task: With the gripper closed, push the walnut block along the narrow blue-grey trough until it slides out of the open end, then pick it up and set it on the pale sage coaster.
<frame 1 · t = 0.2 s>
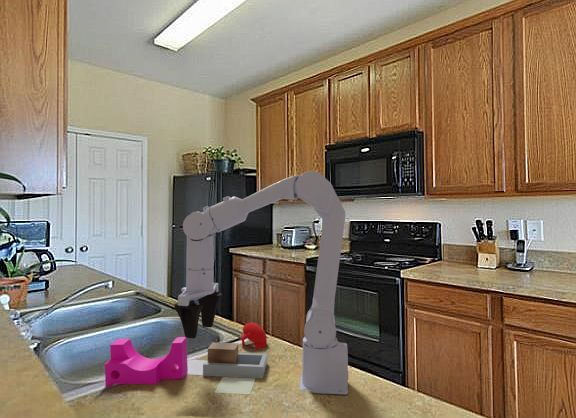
hand: (199, 331, 82), 10 cm above the counter, tool pointing down, fingers open, 7 cm apart
red rounded piece: (253, 347, 102), on the counter
magenta cradle bracket: (148, 379, 81), on the counter, touching trough deck
trough deck: (223, 370, 86), on the counter
sage coaster: (235, 388, 78), on the counter
walnut block: (223, 368, 86), point 1 cm above the counter, touching trough deck
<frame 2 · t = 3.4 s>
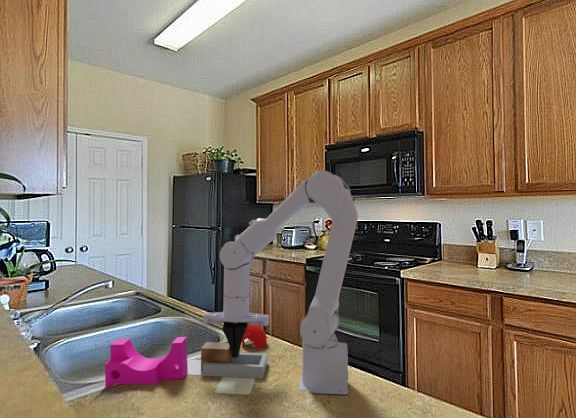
hand: (235, 356, 86), 3 cm above the counter, tool pointing down, fingers closed
walnut block: (216, 367, 86), point 1 cm above the counter, touching gripper, trough deck
everything else where it was.
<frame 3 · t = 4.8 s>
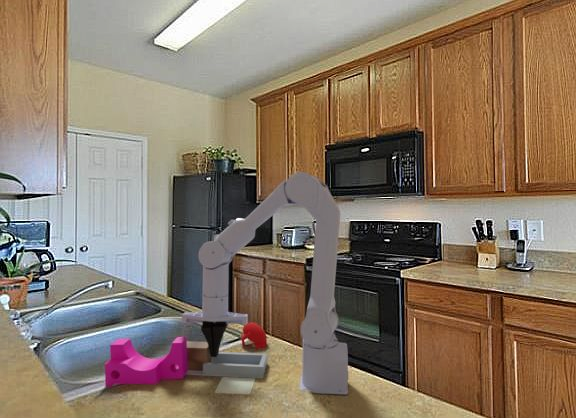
hand: (214, 355, 86), 3 cm above the counter, tool pointing down, fingers closed
walnut block: (195, 366, 87), point 1 cm above the counter, touching gripper, trough deck
everything else where it was.
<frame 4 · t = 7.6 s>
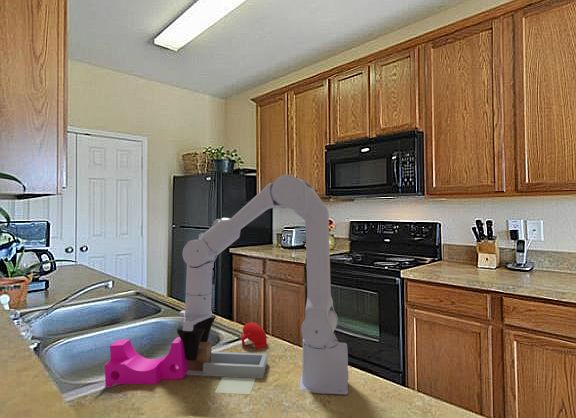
hand: (196, 353, 87), 4 cm above the counter, tool pointing down, fingers open, 7 cm apart
magenta cradle bracket: (148, 379, 81), on the counter, touching gripper, trough deck
walnut block: (195, 366, 87), point 1 cm above the counter, touching trough deck
everything else where it was.
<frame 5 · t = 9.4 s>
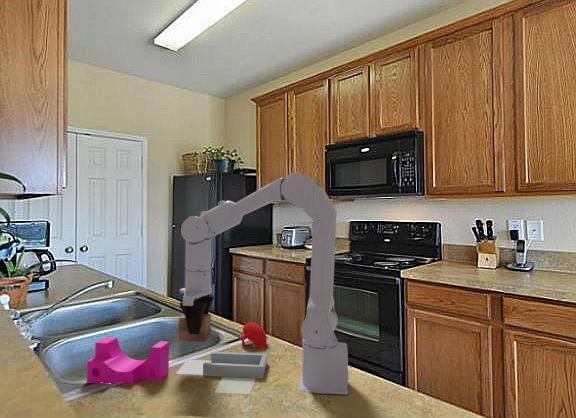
hand: (197, 330, 87), 9 cm above the counter, tool pointing down, fingers closed on walnut block, 4 cm apart
magenta cradle bracket: (128, 380, 82), on the counter
walnut block: (195, 338, 87), point 7 cm above the counter, touching gripper
everything else where it was.
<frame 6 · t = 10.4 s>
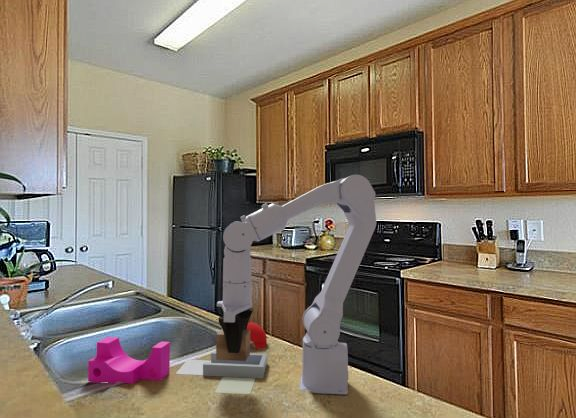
hand: (236, 348, 78), 8 cm above the counter, tool pointing down, fingers closed on walnut block, 4 cm apart
walnut block: (233, 356, 78), point 6 cm above the counter, touching gripper
everything else where it was.
when the fingers open (3 cm above the counter, at t = 11.6 s): walnut block stays where it is, resting on sage coaster.
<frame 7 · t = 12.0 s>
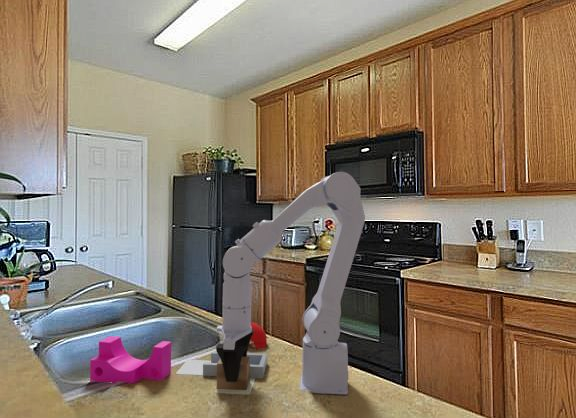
hand: (235, 372, 78), 3 cm above the counter, tool pointing down, fingers open, 7 cm apart
walnut block: (233, 384, 78), point 1 cm above the counter, touching sage coaster
everything else where it was.
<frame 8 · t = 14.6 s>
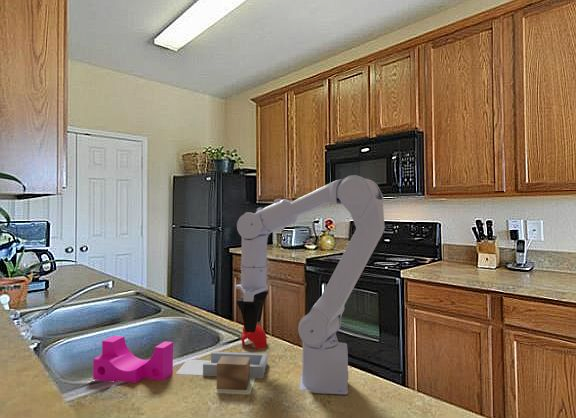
hand: (253, 326, 87), 10 cm above the counter, tool pointing down, fingers open, 7 cm apart
nothing on the counter moved.
at the end: walnut block inside the target area on the sage coaster (0.4 cm from its centre), point 0.6 cm above the sage coaster's base; walnut block tilted 0°; the gripper is holding nothing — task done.
